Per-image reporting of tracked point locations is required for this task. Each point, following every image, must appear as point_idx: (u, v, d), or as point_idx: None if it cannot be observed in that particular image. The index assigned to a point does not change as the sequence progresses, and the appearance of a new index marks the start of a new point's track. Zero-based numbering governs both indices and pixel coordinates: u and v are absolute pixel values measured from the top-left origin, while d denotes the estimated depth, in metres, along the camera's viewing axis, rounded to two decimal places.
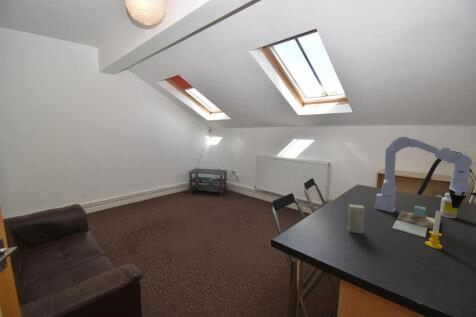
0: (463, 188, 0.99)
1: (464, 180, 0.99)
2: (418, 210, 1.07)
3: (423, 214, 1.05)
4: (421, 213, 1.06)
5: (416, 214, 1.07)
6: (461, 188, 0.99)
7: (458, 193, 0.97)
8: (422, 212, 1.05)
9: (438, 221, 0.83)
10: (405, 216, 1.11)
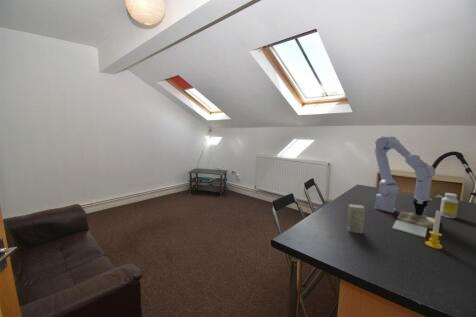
0: (425, 197, 1.04)
1: (423, 189, 1.04)
2: None
3: (423, 214, 1.05)
4: None
5: None
6: (423, 197, 1.04)
7: (420, 202, 1.02)
8: None
9: (438, 221, 0.83)
10: (405, 216, 1.11)
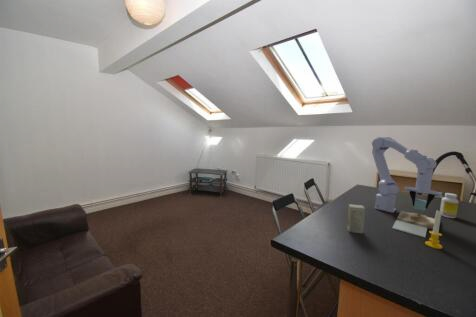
0: (416, 188, 1.07)
1: (424, 182, 1.03)
2: None
3: (414, 205, 1.08)
4: None
5: None
6: (415, 187, 1.07)
7: (404, 188, 1.12)
8: None
9: (438, 221, 0.83)
10: (405, 216, 1.11)
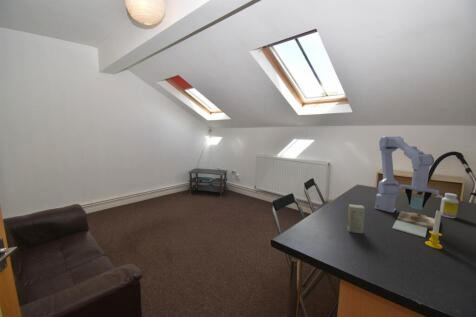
0: (412, 185, 1.01)
1: (417, 178, 0.99)
2: (411, 199, 1.03)
3: (410, 203, 1.02)
4: None
5: None
6: (411, 185, 1.02)
7: None
8: None
9: (438, 221, 0.83)
10: (405, 216, 1.11)
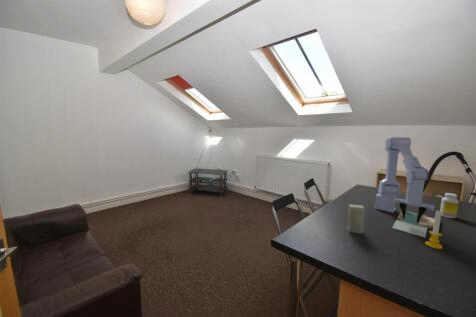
0: (406, 200, 0.98)
1: (410, 193, 0.96)
2: None
3: None
4: (405, 217, 1.00)
5: None
6: (406, 199, 0.99)
7: (394, 200, 1.03)
8: (405, 216, 0.99)
9: (438, 221, 0.83)
10: None
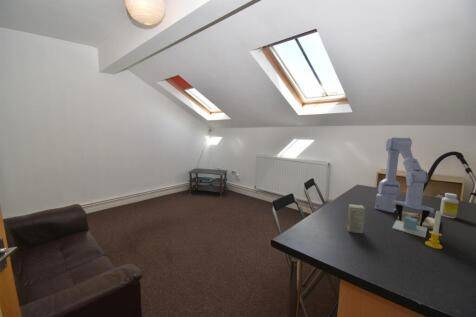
0: (406, 202, 0.98)
1: (410, 195, 0.96)
2: (404, 219, 1.01)
3: None
4: (404, 222, 1.00)
5: None
6: (405, 202, 0.99)
7: (393, 202, 1.03)
8: (404, 221, 1.00)
9: (438, 221, 0.83)
10: (405, 216, 1.11)
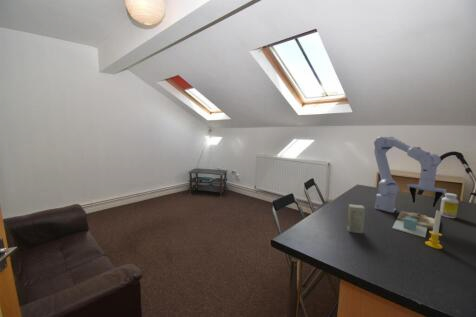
0: (419, 185, 1.04)
1: (427, 178, 1.01)
2: (404, 219, 1.01)
3: None
4: (404, 222, 1.00)
5: None
6: (419, 184, 1.05)
7: None
8: (404, 221, 1.00)
9: (438, 221, 0.83)
10: (405, 216, 1.11)
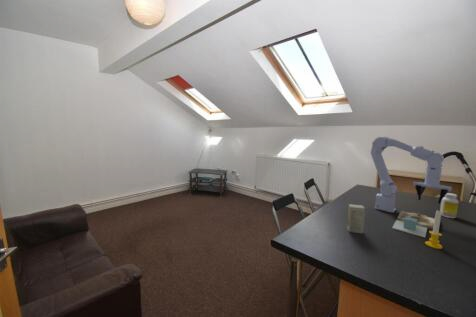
0: (425, 182, 1.08)
1: (436, 176, 1.04)
2: (404, 219, 1.01)
3: None
4: (404, 222, 1.00)
5: None
6: (424, 182, 1.08)
7: (413, 183, 1.13)
8: (404, 221, 1.00)
9: (438, 221, 0.83)
10: (405, 216, 1.11)
